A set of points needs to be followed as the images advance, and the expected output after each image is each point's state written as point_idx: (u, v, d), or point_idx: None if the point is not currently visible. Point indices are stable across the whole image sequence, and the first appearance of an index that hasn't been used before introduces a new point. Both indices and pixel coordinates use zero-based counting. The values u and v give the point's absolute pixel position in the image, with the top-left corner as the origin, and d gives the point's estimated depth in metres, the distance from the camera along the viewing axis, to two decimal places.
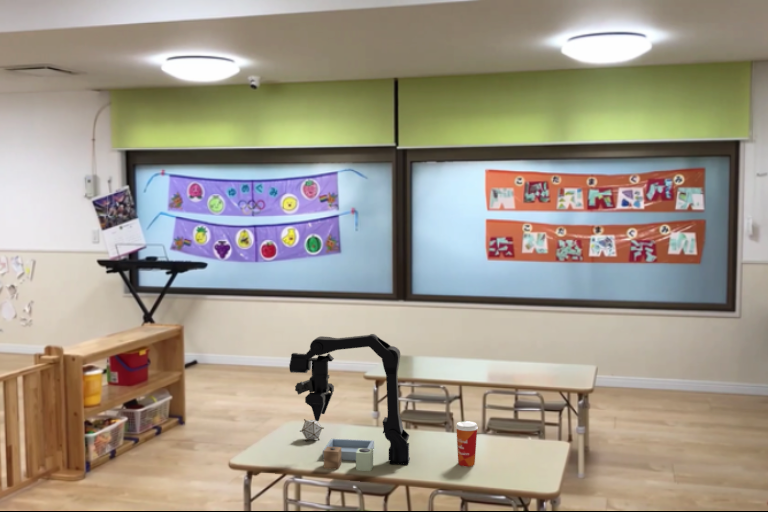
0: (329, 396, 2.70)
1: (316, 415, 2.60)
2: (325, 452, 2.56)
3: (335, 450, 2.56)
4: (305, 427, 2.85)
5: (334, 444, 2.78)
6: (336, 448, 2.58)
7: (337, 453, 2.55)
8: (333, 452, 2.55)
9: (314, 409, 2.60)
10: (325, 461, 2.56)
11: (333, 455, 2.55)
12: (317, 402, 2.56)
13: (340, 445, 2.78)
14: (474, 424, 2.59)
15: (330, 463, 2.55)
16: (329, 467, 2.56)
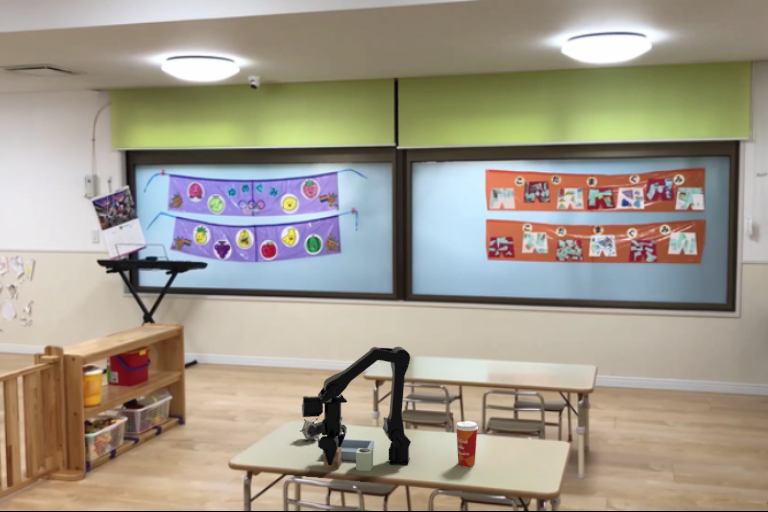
0: (342, 438, 2.62)
1: (329, 459, 2.52)
2: None
3: None
4: (305, 427, 2.85)
5: None
6: None
7: (337, 453, 2.55)
8: None
9: (327, 453, 2.52)
10: (325, 461, 2.56)
11: None
12: (330, 447, 2.48)
13: None
14: (474, 424, 2.59)
15: None
16: (329, 467, 2.56)
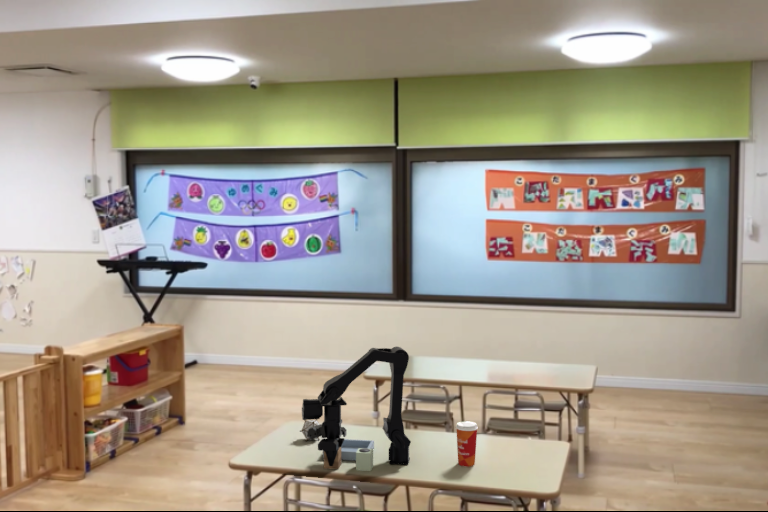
0: (341, 442, 2.60)
1: (330, 460, 2.54)
2: (325, 452, 2.56)
3: None
4: (305, 427, 2.85)
5: None
6: None
7: (337, 453, 2.55)
8: None
9: (328, 454, 2.54)
10: (325, 461, 2.56)
11: None
12: (330, 449, 2.48)
13: None
14: (474, 424, 2.59)
15: None
16: (329, 467, 2.56)
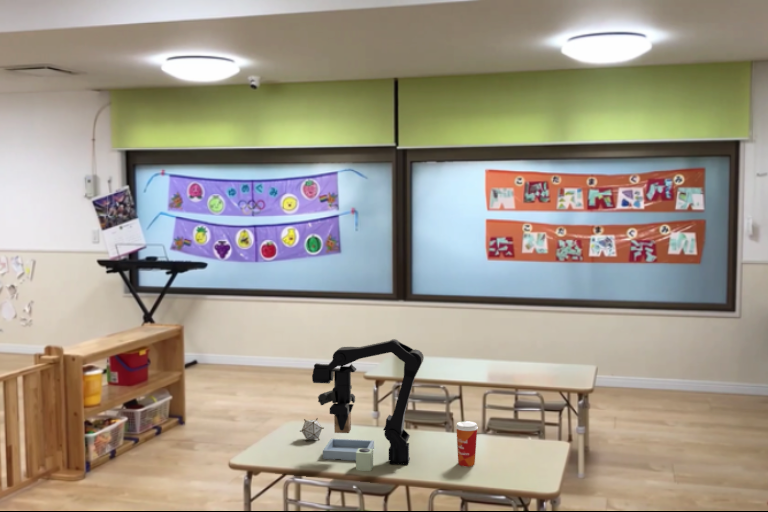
0: (350, 408, 2.68)
1: (341, 424, 2.62)
2: (336, 417, 2.63)
3: None
4: (305, 427, 2.85)
5: (334, 444, 2.78)
6: None
7: None
8: None
9: (339, 418, 2.61)
10: (336, 425, 2.63)
11: None
12: (342, 413, 2.56)
13: (340, 445, 2.78)
14: (474, 424, 2.59)
15: None
16: (340, 431, 2.63)
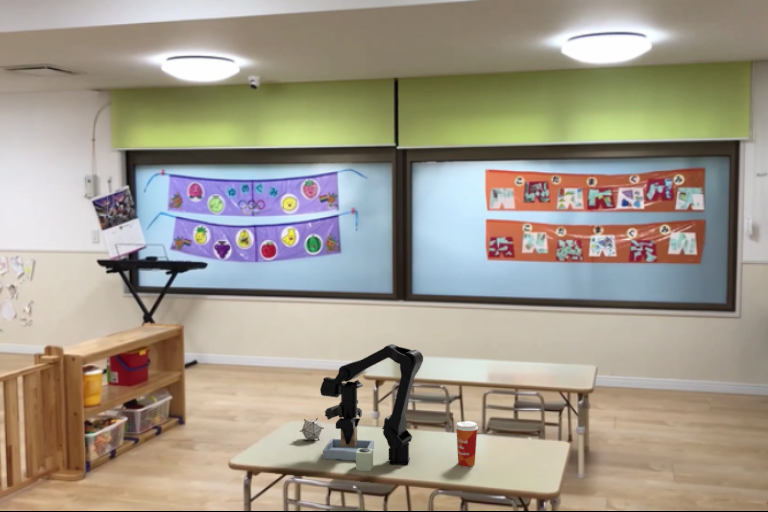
0: (357, 422, 2.74)
1: (347, 438, 2.68)
2: (342, 431, 2.69)
3: None
4: (305, 427, 2.85)
5: (334, 444, 2.78)
6: None
7: None
8: None
9: (345, 433, 2.67)
10: (342, 439, 2.69)
11: None
12: (347, 428, 2.61)
13: (340, 445, 2.78)
14: (474, 424, 2.59)
15: None
16: (346, 445, 2.69)
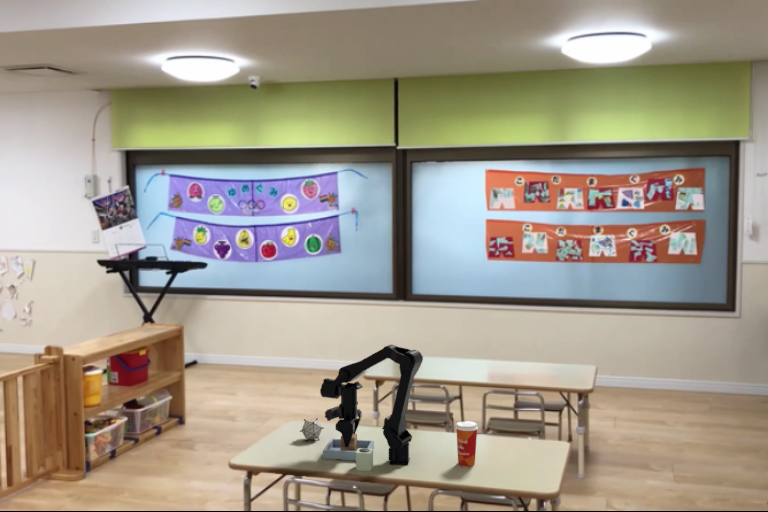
0: (357, 422, 2.75)
1: (346, 441, 2.66)
2: (342, 438, 2.69)
3: None
4: (305, 427, 2.85)
5: (334, 444, 2.78)
6: None
7: (353, 439, 2.68)
8: None
9: (344, 435, 2.66)
10: (342, 447, 2.69)
11: None
12: (347, 429, 2.61)
13: (340, 445, 2.78)
14: (474, 424, 2.59)
15: (347, 449, 2.69)
16: None
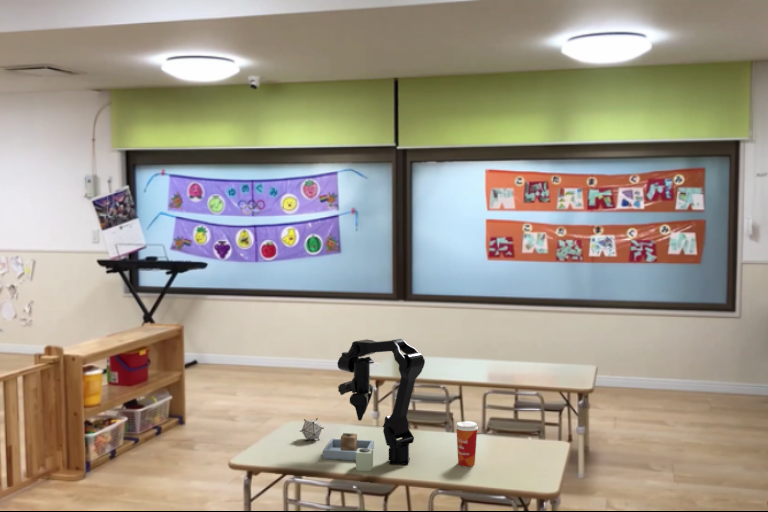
0: (369, 396, 2.81)
1: (359, 415, 2.71)
2: (342, 438, 2.69)
3: (351, 436, 2.70)
4: (305, 427, 2.85)
5: (334, 444, 2.78)
6: (352, 434, 2.72)
7: (353, 439, 2.68)
8: (349, 438, 2.68)
9: (357, 409, 2.70)
10: (342, 447, 2.69)
11: (349, 441, 2.69)
12: (361, 402, 2.66)
13: (340, 445, 2.78)
14: (474, 424, 2.59)
15: (347, 449, 2.69)
16: None
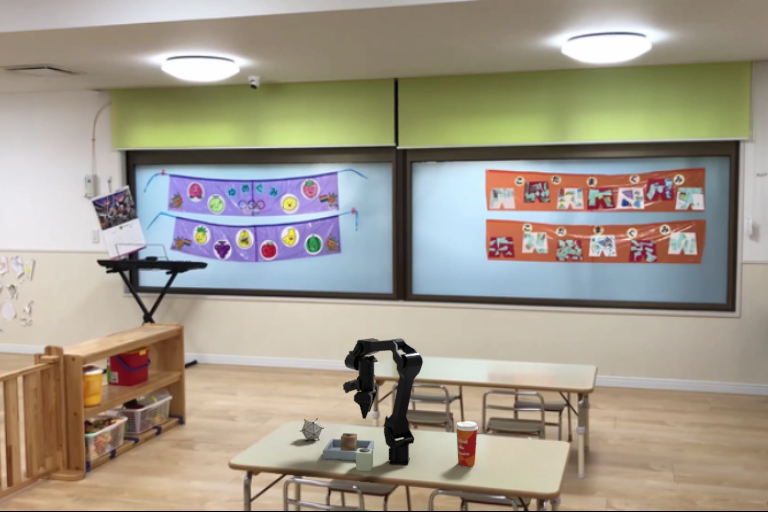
0: (374, 395, 2.82)
1: (363, 413, 2.72)
2: (342, 438, 2.69)
3: (351, 436, 2.70)
4: (305, 427, 2.85)
5: (334, 444, 2.78)
6: (352, 434, 2.72)
7: (353, 439, 2.68)
8: (349, 438, 2.68)
9: (362, 407, 2.72)
10: (342, 447, 2.69)
11: (349, 441, 2.69)
12: (365, 400, 2.68)
13: (340, 445, 2.78)
14: (474, 424, 2.59)
15: (347, 449, 2.69)
16: None
